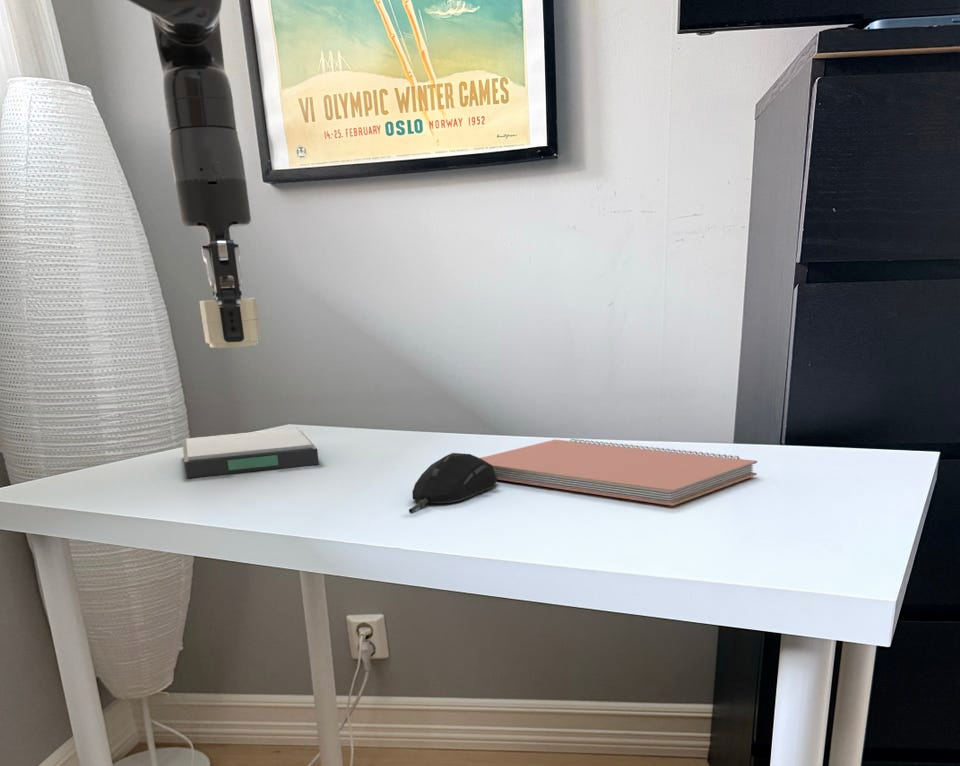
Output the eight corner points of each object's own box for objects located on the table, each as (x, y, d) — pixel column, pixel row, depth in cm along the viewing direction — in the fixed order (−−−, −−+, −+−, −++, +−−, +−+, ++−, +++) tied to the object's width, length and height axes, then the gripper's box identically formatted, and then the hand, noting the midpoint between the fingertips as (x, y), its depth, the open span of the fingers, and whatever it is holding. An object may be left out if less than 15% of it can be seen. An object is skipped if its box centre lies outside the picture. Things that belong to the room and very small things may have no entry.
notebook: (761, 475, 98) (762, 456, 97) (672, 508, 87) (673, 487, 86) (560, 452, 116) (560, 435, 115) (466, 476, 104) (465, 459, 104)
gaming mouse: (383, 510, 92) (380, 470, 90) (457, 479, 104) (455, 443, 102) (438, 515, 89) (435, 473, 87) (507, 482, 101) (506, 445, 99)
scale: (186, 479, 112) (183, 458, 111) (185, 456, 126) (181, 438, 125) (319, 464, 116) (317, 444, 115) (302, 445, 130) (300, 427, 129)
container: (206, 349, 103) (199, 301, 102) (205, 345, 109) (199, 300, 107) (263, 345, 105) (257, 298, 103) (259, 342, 111) (253, 297, 109)
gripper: (175, 186, 106) (198, 339, 112) (173, 172, 93) (200, 346, 99) (242, 184, 108) (261, 335, 114) (249, 170, 95) (271, 341, 101)
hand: (233, 339), depth 107 cm, fingers closed on container, 6 cm apart
